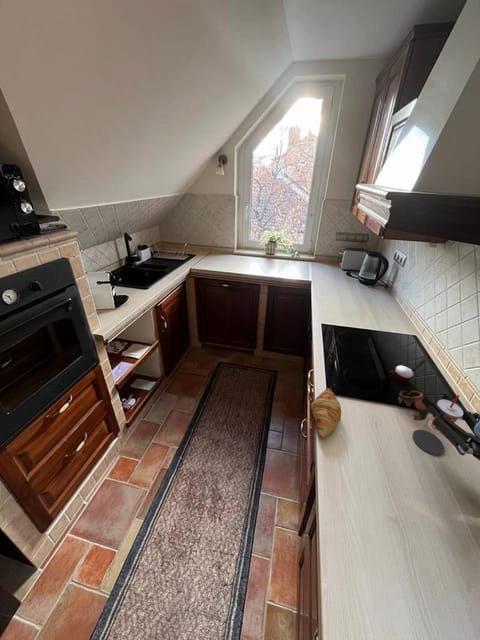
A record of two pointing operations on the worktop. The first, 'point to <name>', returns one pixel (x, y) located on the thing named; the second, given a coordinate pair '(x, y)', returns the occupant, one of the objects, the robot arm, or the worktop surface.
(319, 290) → the worktop surface
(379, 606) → the worktop surface
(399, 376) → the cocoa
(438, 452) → the slate coaster
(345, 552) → the worktop surface
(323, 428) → the croissant
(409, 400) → the pottery mug
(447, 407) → the beverage cup
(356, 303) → the worktop surface
